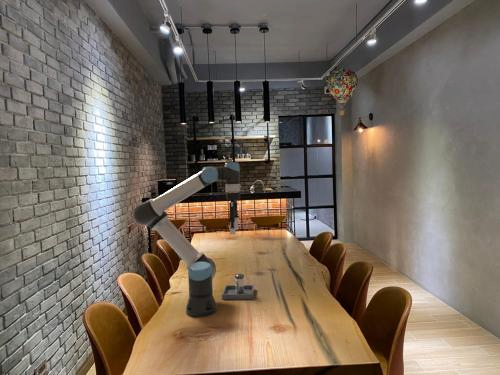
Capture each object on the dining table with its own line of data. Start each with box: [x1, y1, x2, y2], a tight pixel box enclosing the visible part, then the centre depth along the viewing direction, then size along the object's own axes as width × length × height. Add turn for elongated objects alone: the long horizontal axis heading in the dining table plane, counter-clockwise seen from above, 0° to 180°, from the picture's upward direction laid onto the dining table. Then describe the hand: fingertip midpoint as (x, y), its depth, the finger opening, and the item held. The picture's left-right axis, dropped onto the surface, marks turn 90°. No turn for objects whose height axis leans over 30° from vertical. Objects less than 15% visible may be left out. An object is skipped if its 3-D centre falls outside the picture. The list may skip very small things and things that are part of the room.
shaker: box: [234, 273, 245, 294], centre depth 206 cm, size 5×5×10 cm
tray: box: [221, 284, 255, 300], centre depth 207 cm, size 17×16×3 cm
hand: (234, 232), depth 195 cm, fingers open, 13 cm apart
